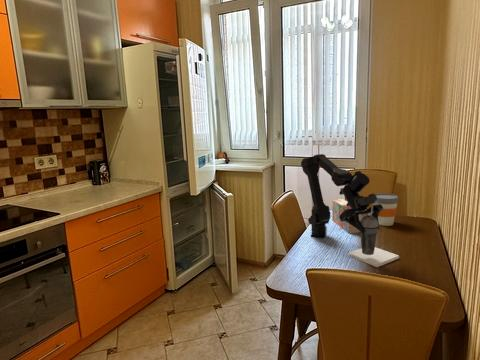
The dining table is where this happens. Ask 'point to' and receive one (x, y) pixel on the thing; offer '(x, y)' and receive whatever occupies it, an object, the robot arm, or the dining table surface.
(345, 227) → the patterned box
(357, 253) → the board
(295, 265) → the dining table surface
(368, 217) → the beverage cup
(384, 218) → the reusable coffee cup
